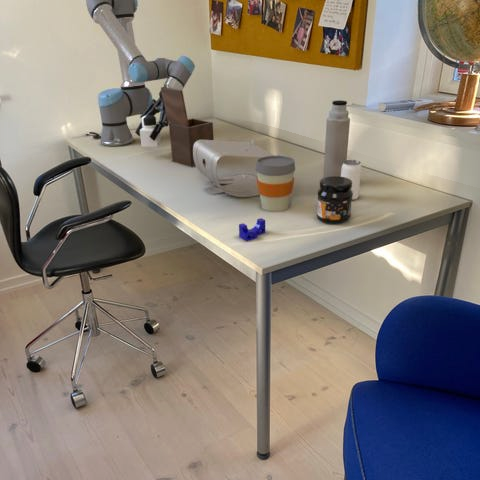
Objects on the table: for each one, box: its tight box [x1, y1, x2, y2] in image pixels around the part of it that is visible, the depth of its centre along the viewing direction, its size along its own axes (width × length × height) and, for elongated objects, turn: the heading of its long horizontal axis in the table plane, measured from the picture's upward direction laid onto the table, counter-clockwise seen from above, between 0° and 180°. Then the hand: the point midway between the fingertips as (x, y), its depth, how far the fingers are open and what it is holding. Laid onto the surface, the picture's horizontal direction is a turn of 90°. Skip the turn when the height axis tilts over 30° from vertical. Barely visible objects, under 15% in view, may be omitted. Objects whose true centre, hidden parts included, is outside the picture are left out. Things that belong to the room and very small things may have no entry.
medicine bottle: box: [139, 115, 162, 148], centre depth 221 cm, size 7×7×12 cm
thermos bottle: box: [322, 99, 351, 179], centre depth 184 cm, size 8×8×28 cm
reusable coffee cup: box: [255, 155, 296, 212], centre depth 168 cm, size 12×13×15 cm
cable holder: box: [238, 217, 266, 242], centre depth 151 cm, size 8×4×4 cm, turn 124°
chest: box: [168, 117, 215, 168], centre depth 216 cm, size 13×13×15 cm
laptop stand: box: [193, 139, 280, 198], centre depth 185 cm, size 26×24×16 cm
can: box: [341, 159, 362, 201], centre depth 174 cm, size 6×6×12 cm
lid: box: [160, 86, 189, 127], centre depth 204 cm, size 14×13×1 cm
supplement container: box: [316, 176, 353, 225], centre depth 158 cm, size 10×10×12 cm
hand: (144, 136), depth 221 cm, fingers closed on medicine bottle, 10 cm apart
